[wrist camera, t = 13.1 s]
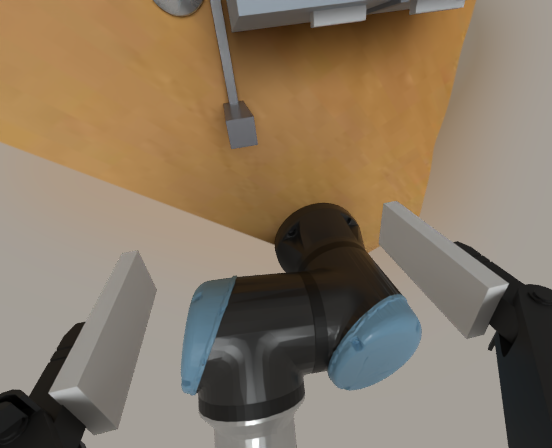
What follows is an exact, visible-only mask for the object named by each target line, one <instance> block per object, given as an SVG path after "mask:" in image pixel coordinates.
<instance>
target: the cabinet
mask: <svg viewBox="0 0 552 448" xmlns="http://www.w3.org/2000/svg"><path fill="white" fill-rule="evenodd" d="M226 1H227V6H228V12H229V18H230V24H231V30H232V32H239V31H246V30H254V29H262V28H269V27H277V26H284V25H292V24H300V23H307V22H311V28H315V27H323V26H330V25H338V24H345V23H353V22H360V21H364V20H366V15H369V14H376V13H384V12H391V11H399V10H406V9H410V12H409V15H413V14H420V13H428V12H435V11H443V10H450V9H457V8H461V7H464V2H465V0H226Z"/></svg>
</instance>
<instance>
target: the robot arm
mask: <svg viewBox="0 0 552 448" xmlns="http://www.w3.org/2000/svg"><path fill="white" fill-rule="evenodd" d="M379 245H380V246H381V247H382V248H383V249H384V250H385V251H386V252H387V253H388V254H389V255H390V257H392V259H393V260H394V261H395V262H396V263H397V264H398V265H399V266H400V267H401V268H402V270H403V271H404V272H405V273H406V274H407V275H408V276H409V277H410V278H411V279H412V280H413V281H414V283H415V284H416V285H417V286H418V287H419V288H420V289H421V290H422V291H423V292H424V293H425V295H426V296H427V297H428V298H429V299H430V300H431V301H432V302H433V303H434V304H435V305H436V306H437V308H438V309H439V310H441V312H442V313H443V314H444V315H445V316H446V317H447V318H448V319H449V321H450V322H451V323H452V324H453V325H454V326H455V327H456V328H457V329H458V330H459V331H460V332H461V333H462V335H463V336H464V337H465V338H466V339H468V338H472V337H476V336H480V335H484V333H485V331H486V329H487V327H488V325H489V324H490V325H491V326H492V327H493V328H494V329H495V330H496V333H495V335H494V337H493V338H492V340H491V342H490V344H489V347H488V350H490V351H492V349H493V347H494V346H495V347H496V354H497V363H498V370H499V378H500V386H501V393H502V400H503V408H504V416H505V424H506V431H507V439H508V446H509V448H552V290H551V289H549V288H546V287H543V286H539V285H533V284H528V285H525V284H523V283H521V282H520V281H518V280H517V279H516V278H514V277H513V276H512V275H510V274H509V273H507V272H506V271H504V270H503V269H501V268H500V267H499V266H497V265H496V264H494V263H493V262H490V261H489V259H487V258H486V257H484V256H481V254H480V253H479V252H477V251H476V250H474V249H473V248H472V247H469V246H467V245H465V244H463V243H460V242H458V241H457V242H452V241H450V240H449V239H448V238H446V237H445V236H443V235H442V234H441V233H439V232H438V231H436V230H435V229H434V228H433V227H431V226H430V225H428V224H427V223H426V222H424V221H423V220H422V219H420V218H419V217H418V216H416V215H415V214H414V213H412V212H411V211H409V210H408V209H407V208H405V207H404V206H403V205H401V204H400V203H399V202H397V201H394V202H388V203H384V204H383V212H382V221H381V229H380V237H379ZM275 251H276V255H277V258H278V261H279V263H280V265H281V267H282V268H283V270H284V271H285V272H286V273H277V274H268V275H267V274H266V275H255V276H243V277H237V276H233V277H232V278H226V279H218V280H211V281H207V282H204V283H203V284H201V285H200V286H199V287H198V288H197V290H196V291H195V293H194V295H193V298H192V300H191V304H190V308H189V313H188V317H187V322H186V329H185V335H184V342H183V351H182V362H181V377H182V384H181V386H182V390H183V392H184V393H187V394H190V395H195V394H196V393H198V396H199V414H200V416H201V418H202V419H204V420H205V421H206V422H207V423H208V424H210V425H211V426H212V427H213V428H214V435H215V448H297V445H296V435H295V425H294V413H295V412H296V411H297V409H298V408H299V407H300V405H301V404H302V403H303V401H304V399H305V390H304V381H303V376H304V375H306V374H310V373H317V372H322V371H327V372H328V376H329V378H330V380H332V382H333V383H334V384H335V385H336V386H337V387H338V388H341V389H346V390H357V389H362V388H365V387H368V386H371V385H373V384H375V383H377V382H379V381H381V380H383V379H385V378H387V377H388V376H390V375H391V374H393V373H394V372H395V371H397V370H398V369H399V368H400V367H402V365H404V364H405V363H406V362H407V361H408V360H409V359H410V357H411V356H412V355H413V354H414V352H415V350H416V349H417V347H418V345H419V343H420V340H421V333H422V329H421V325H420V322H419V320H418V318H417V317H416V315H415V313H414V312H413V311H412V309H411V308H410V306H409V305H408V303H407V300H406V298H405V297H404V296H403V295H402V294H401V293H400V292H399V291H398V289H397V288H396V287H395V286H394V284H393V283H392V282H391V281H390V280H389V278H388V277H387V276H386V275H385V274H384V272H383V271H382V270H381V269H380V267H379V266H378V265H377V264H376V263H375V261H374V260H373V259H372V258H371V257H370V255H369V254H368V253H367V252H366V250H365V248H364V244H363V240H362V235H361V231H360V228H359V226H358V224H357V222H356V221H355V219H354V218H353V217H352V216H351V215H350V214H349V212H348V211H346V210H345V209H344V208H342V207H340V206H337V205H334V204H329V203H319V204H313V205H309V206H306V207H304V208H302V209H300V210H298V211H296V212H295V213H293V214H292V215H291V216H290V217H288V218H287V219H286V220H285V222H284V223H283V224H282V226H281V227H280V229H279V231H278V233H277V236H276V239H275ZM156 291H157V289H156V287H155V285H154V283H153V281H152V279H151V277H150V274H149V272H148V271H147V268H146V266H145V264H144V262H143V260H142V258H141V256H140V254H139V251H138V250H137V251H132V252H126V253H122V254H121V256H120V258H119V260H118V262H117V264H116V266H115V268H114V269H113V271H112V273H111V275H110V277H109V279H108V281H107V283H106V285H105V287H104V289H103V291H102V292H101V294H100V296H99V298H98V300H97V302H96V304H95V305H94V307H93V309H92V311H91V313H90V315H89V317H88V319H87V321H86V322H82V323H77V324H75V325H74V326H73V327H72V328H71V329H70V331H68V333H67V334H66V335H65V336H64V337H63V339H62V340H61V342H60V344H59V346H58V347H57V351H56V352H55V353H54V354H53V356H52V358H51V359H50V363H48V365H47V366H46V368H45V370H44V371H43V373H42V375H41V377H40V379H39V380H38V382H37V383H36V385H35V387H34V389H33V390H32V392H31V394H30V396H29V397H28V396H27V395H26V394H25V393H24V392H22V391H21V390H10V391H7V392H3V393H1V394H0V448H86V446H85V444H84V443H83V442H82V441H81V439H82V436H83V433H84V431H85V428H87V429H88V430H89V431H90V432H91V433H92V434H93V435H97V434H101V433H104V432H108V431H112V430H116V429H118V426H119V423H120V419H121V416H122V412H123V409H124V405H125V401H126V398H127V394H128V391H129V387H130V384H131V380H132V377H133V373H134V369H135V366H136V362H137V358H138V355H139V352H140V348H141V344H142V341H143V337H144V334H145V330H146V327H147V323H148V319H149V316H150V312H151V309H152V305H153V301H154V298H155V294H156Z"/></svg>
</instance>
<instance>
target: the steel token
mask: <svg viewBox="0 0 552 448" xmlns="http://www.w3.org/2000/svg"><path fill="white" fill-rule="evenodd" d="M154 2H155V3H156V4H157V5H158V6H159V7H160V8H162V9H163V10H164V11H166V12H167V13H169V14H171V15H175V16H188V15H191V14H193V13H194V12H195V11H197V10H198V9H199V7H200V6H201V4H202V2H203V0H154Z"/></svg>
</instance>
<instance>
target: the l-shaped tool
mask: <svg viewBox="0 0 552 448" xmlns="http://www.w3.org/2000/svg"><path fill="white" fill-rule="evenodd" d="M210 3H211V8H212V14H213V19H214V24H215V30H216V35H217V40H218V45H219V51H220V56H221V61H222V67H223V72H224V77H225V82H226V88H227V93H228V98H229V103H224V112H225V120H226V125H227V130H228V135H229V140H230V145H231V149H235V148H241V147H247V146H253V145H258V143H257V136H256V129H255V122H254V116H253V115H252V113H251V112H250V110H249V109H248V107H247V106H246V104H245V103H244V101H238V99H237V93H236V87H235V81H234V76H233V70H232V64H231V58H230V52H229V47H228V41H227V35H226V29H225V23H224V18H223V12H222V6H221V0H210Z"/></svg>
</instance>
